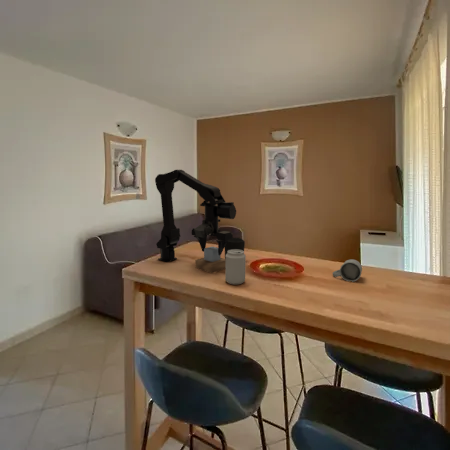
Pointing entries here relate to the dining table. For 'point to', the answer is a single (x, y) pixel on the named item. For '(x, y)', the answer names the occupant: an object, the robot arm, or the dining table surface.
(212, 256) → the cube
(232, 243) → the pen holder
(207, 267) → the walnut block
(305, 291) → the dining table surface
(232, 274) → the can
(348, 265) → the ceramic mug
